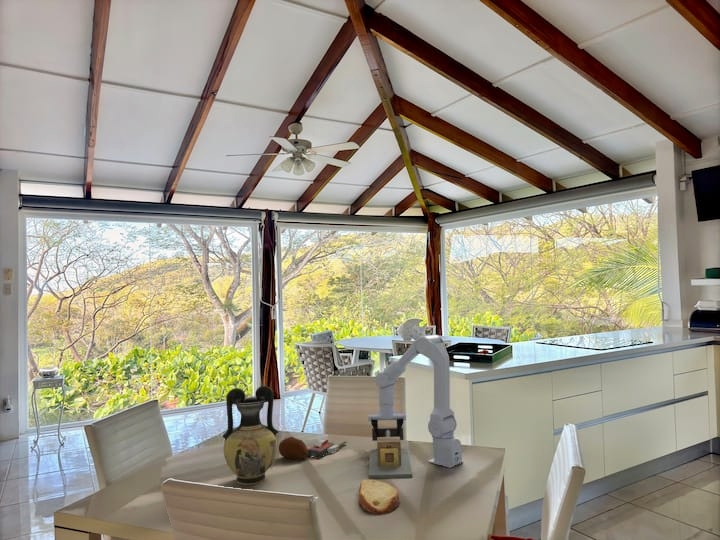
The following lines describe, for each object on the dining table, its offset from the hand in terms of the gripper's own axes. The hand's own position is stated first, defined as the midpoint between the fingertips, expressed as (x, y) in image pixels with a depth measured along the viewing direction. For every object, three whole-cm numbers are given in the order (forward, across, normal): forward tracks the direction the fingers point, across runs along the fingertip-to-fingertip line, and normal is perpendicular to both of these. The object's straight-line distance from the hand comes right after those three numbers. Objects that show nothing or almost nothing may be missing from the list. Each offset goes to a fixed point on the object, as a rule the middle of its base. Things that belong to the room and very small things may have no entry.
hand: (387, 439), depth 183 cm
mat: (+4, 0, +18) cm, 18 cm away
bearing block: (+4, 0, +18) cm, 18 cm away
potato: (+4, +35, +8) cm, 36 cm away
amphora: (+4, +45, +29) cm, 54 cm away
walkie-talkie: (+5, +24, -1) cm, 24 cm away
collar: (+3, 0, +22) cm, 22 cm away
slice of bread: (+4, +5, +46) cm, 47 cm away
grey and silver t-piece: (+1, 0, +7) cm, 7 cm away
